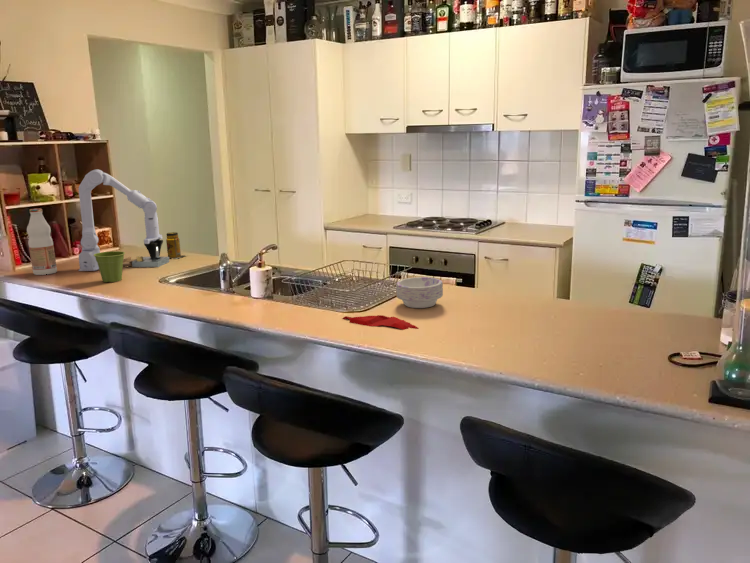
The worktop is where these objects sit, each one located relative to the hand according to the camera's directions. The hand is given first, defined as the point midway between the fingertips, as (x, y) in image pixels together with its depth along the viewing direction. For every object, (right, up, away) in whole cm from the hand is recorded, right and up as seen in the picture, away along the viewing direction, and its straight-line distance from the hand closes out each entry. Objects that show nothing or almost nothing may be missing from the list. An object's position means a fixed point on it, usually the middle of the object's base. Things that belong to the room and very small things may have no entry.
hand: (155, 256), depth 288 cm
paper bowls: (+116, -19, -81) cm, 142 cm away
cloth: (+103, -25, -99) cm, 145 cm away
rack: (-12, -3, +2) cm, 12 cm away
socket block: (-2, -3, -1) cm, 4 cm away
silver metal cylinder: (0, -3, +1) cm, 3 cm away
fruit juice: (-43, -8, -14) cm, 46 cm away
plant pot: (-6, -11, -32) cm, 35 cm away
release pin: (-5, -4, -4) cm, 8 cm away
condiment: (+4, 0, +17) cm, 17 cm away
